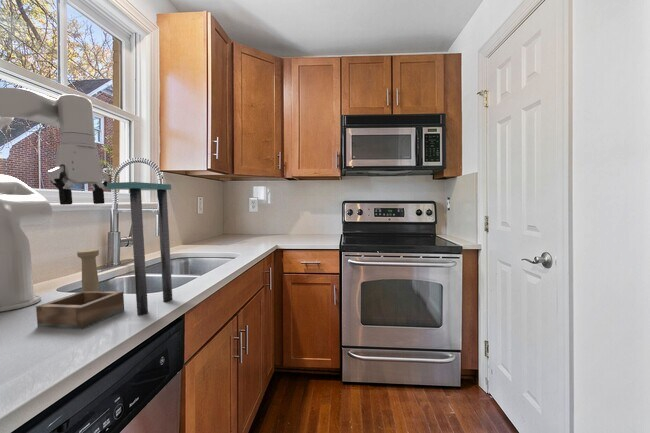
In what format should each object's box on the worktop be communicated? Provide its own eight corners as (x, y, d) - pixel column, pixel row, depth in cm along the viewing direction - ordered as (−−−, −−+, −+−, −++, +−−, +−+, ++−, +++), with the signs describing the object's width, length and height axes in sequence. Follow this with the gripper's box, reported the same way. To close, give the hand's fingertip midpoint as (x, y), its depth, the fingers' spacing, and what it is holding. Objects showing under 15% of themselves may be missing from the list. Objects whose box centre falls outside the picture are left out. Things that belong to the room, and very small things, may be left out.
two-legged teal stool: (115, 315, 77) (106, 183, 75) (153, 298, 91) (147, 185, 89) (142, 316, 76) (134, 181, 74) (177, 298, 90) (170, 184, 88)
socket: (37, 327, 71) (35, 306, 71) (84, 308, 83) (83, 290, 83) (82, 329, 70) (81, 307, 69) (124, 310, 81) (123, 291, 81)
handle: (79, 306, 86) (75, 253, 85) (82, 299, 91) (79, 250, 90) (100, 302, 88) (97, 251, 87) (102, 296, 94) (99, 248, 93)
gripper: (95, 148, 94) (99, 204, 95) (32, 137, 77) (38, 205, 78) (116, 146, 93) (120, 203, 94) (57, 135, 76) (63, 204, 76)
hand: (83, 204), depth 86 cm, fingers open, 9 cm apart
